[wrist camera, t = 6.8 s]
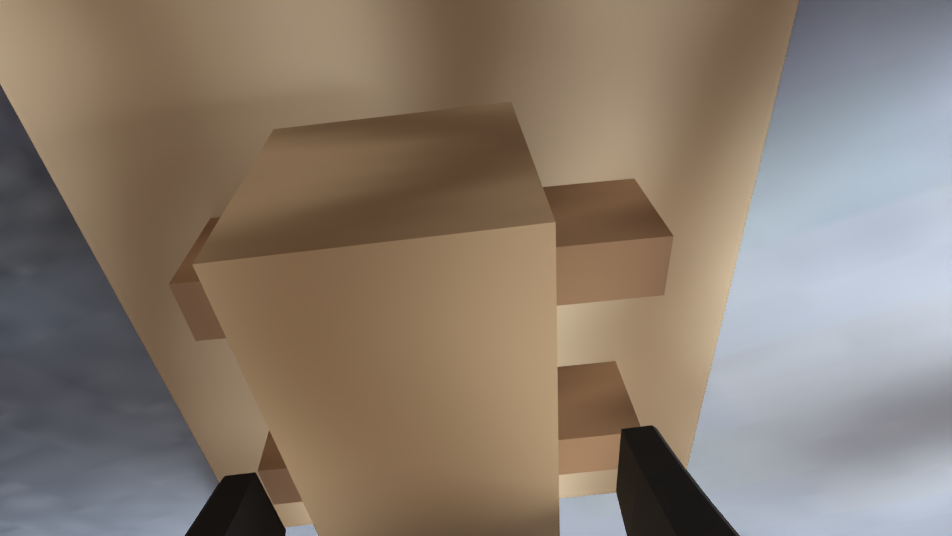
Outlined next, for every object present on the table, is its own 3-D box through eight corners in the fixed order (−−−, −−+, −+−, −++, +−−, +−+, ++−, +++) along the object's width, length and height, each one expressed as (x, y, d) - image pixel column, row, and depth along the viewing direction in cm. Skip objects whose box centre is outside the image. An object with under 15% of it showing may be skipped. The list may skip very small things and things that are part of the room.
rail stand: (798, -97, 11) (923, -87, 8) (674, 466, 21) (711, 555, 19) (-29, -28, 11) (-187, 7, 8) (251, 510, 21) (225, 607, 18)
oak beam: (511, 102, 9) (555, 222, 6) (534, 508, 16) (561, 667, 13) (273, 129, 9) (192, 264, 6) (397, 525, 16) (389, 688, 13)
